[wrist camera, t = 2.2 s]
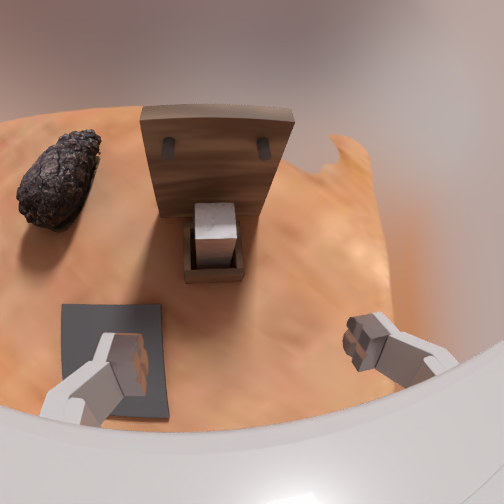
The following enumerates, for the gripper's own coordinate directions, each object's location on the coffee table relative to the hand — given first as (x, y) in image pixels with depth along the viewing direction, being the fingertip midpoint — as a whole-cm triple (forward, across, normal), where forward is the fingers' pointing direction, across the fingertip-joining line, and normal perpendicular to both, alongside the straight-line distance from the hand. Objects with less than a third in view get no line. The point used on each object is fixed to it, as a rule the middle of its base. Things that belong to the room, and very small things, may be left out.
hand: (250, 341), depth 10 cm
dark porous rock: (+35, +24, -1) cm, 42 cm away
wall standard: (+27, 0, +6) cm, 28 cm away
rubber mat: (+16, +14, +17) cm, 28 cm away
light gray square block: (+26, 0, +8) cm, 27 cm away
